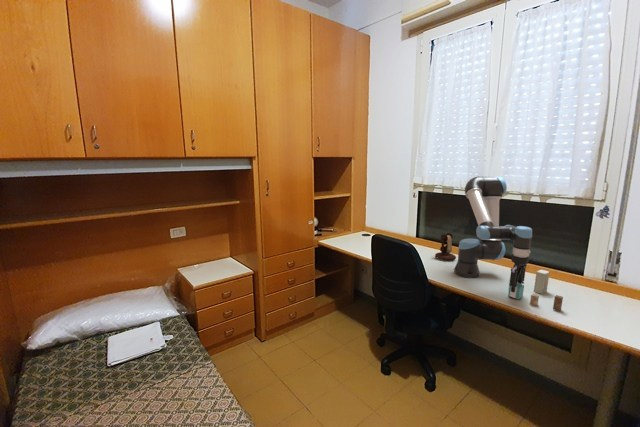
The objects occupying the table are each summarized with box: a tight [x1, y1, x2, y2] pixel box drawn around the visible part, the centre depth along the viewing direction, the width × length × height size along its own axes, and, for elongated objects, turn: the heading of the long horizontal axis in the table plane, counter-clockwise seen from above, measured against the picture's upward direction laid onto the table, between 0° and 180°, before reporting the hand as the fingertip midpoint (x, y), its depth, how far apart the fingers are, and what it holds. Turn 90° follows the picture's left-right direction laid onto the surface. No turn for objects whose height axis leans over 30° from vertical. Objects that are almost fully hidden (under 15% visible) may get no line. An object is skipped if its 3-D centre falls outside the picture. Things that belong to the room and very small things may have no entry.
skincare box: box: [533, 269, 550, 295], centre depth 166 cm, size 6×4×12 cm
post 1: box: [529, 293, 539, 307], centre depth 152 cm, size 3×3×5 cm
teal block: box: [507, 282, 525, 300], centre depth 160 cm, size 5×5×7 cm
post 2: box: [552, 294, 564, 312], centre depth 146 cm, size 3×3×7 cm
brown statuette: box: [434, 232, 457, 262], centre depth 223 cm, size 15×15×20 cm
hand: (515, 295), depth 160 cm, fingers closed on teal block, 5 cm apart
